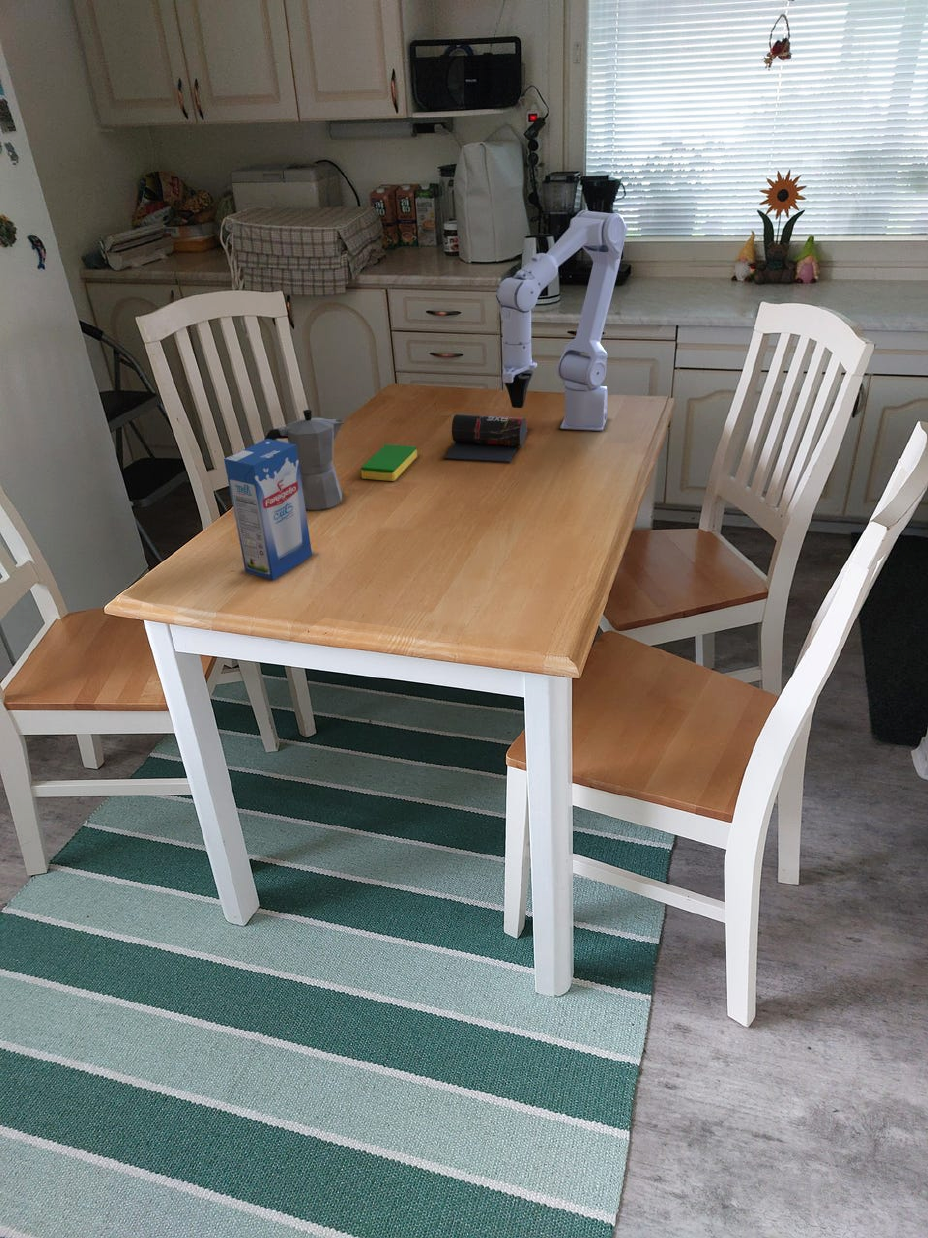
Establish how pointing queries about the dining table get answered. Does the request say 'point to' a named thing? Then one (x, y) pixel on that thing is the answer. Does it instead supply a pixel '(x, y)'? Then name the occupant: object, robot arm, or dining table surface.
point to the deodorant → (489, 429)
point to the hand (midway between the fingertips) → (517, 406)
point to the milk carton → (269, 507)
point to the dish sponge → (389, 462)
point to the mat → (481, 452)
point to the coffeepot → (314, 458)
